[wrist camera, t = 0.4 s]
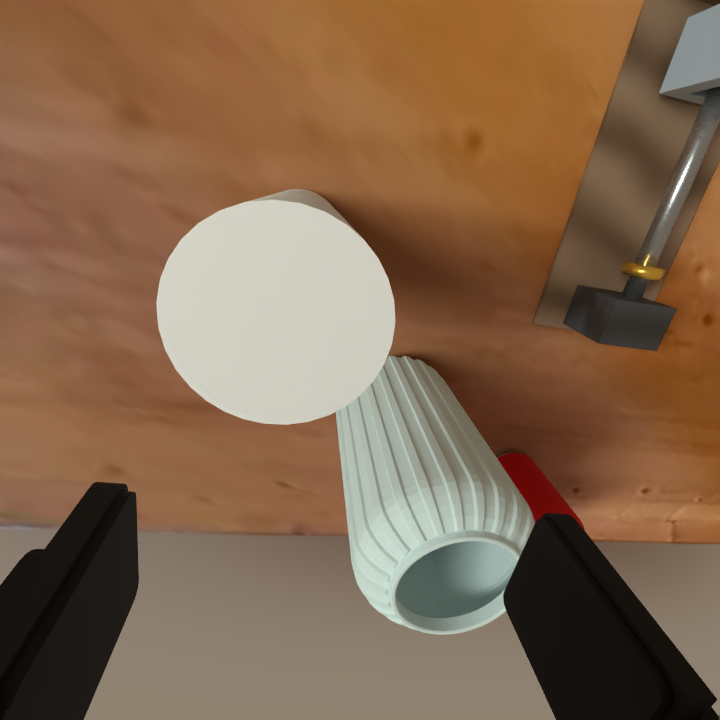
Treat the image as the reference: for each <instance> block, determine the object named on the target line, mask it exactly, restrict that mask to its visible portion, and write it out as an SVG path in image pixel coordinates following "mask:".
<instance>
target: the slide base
mask: <svg viewBox="0 0 720 720" xmlns="http://www.w3.org/2000/svg"><path fill="white" fill-rule="evenodd" d="M718 4H720V0H645V1H644V4H643V6H642V9H641V12H640V15H639V18H638V21H637V24H636V27H635V29H634V32H633V35H632V38H631V41H630V44H629V47H628V50H627V52H626V55H625V58H624V61H623V64H622V67H621V70H620V73H619V75H618V78H617V81H616V84H615V87H614V90H613V93H612V95H611V98H610V101H609V104H608V107H607V110H606V113H605V116H604V118H603V121H602V124H601V127H600V130H599V133H598V136H597V139H596V141H595V144H594V147H593V150H592V153H591V156H590V159H589V162H588V164H587V167H586V170H585V173H584V176H583V179H582V182H581V185H580V187H579V190H578V193H577V196H576V199H575V202H574V205H573V208H572V210H571V213H570V216H569V219H568V222H567V225H566V228H565V231H564V233H563V236H562V239H561V242H560V245H559V248H558V251H557V254H556V256H555V259H554V262H553V265H552V268H551V271H550V274H549V277H548V279H547V282H546V285H545V288H544V291H543V294H542V297H541V300H540V302H539V305H538V308H537V311H536V314H535V317H534V320H533V324H535V325H543V326H550V327H557V328H564V329H571V330H576V331H577V332H579V333H581V334H583V335H585V336H586V337H588V338H590V339H592V340H594V341H595V342H597V343H600V344H607V345H615V346H622V347H630V348H637V349H644V350H652V351H657V349H658V347H659V345H660V343H661V341H662V339H663V337H664V335H665V333H666V330H667V328H668V326H669V324H670V322H671V320H672V318H673V316H674V314H675V312H676V310H677V309H675V308H672V307H669V306H666V305H663V304H661V303H658V302H655V300H656V297H657V295H658V293H659V291H660V289H661V286H662V284H663V282H664V280H665V278H666V276H667V273H668V271H669V269H670V267H671V265H672V262H673V260H674V258H675V256H676V254H677V252H678V249H679V247H680V245H681V243H682V241H683V238H684V236H685V234H686V232H687V230H688V228H689V225H690V223H691V221H692V219H693V217H694V214H695V212H696V210H697V208H698V206H699V204H700V201H701V199H702V197H703V195H704V193H705V190H706V188H707V186H708V184H709V182H710V180H711V177H712V175H713V173H714V171H715V169H716V167H717V164H718V162H719V160H720V124H719V126H718V128H717V130H716V133H715V135H714V137H713V139H712V142H711V144H710V146H709V148H708V151H707V153H706V155H705V157H704V160H703V162H702V164H701V166H700V169H699V171H698V173H697V175H696V178H695V180H694V182H693V184H692V187H691V189H690V191H689V193H688V196H687V198H686V200H685V202H684V205H683V207H682V209H681V211H680V214H679V216H678V218H677V220H676V223H675V225H674V227H673V229H672V232H671V234H670V236H669V238H668V241H667V243H666V245H665V247H664V250H663V252H662V254H661V256H660V259H659V261H658V263H657V265H656V267H658V268H662V269H665V270H666V271H665V274H664V276H663V278H662V280H661V281H653V280H650V281H649V283H648V286H647V288H646V290H645V292H644V295H643V297H642V299H641V301H635V300H631V299H627V298H624V297H621V294H622V292H623V290H624V287H625V285H626V283H627V280H628V278H629V276H630V275H626V274H623V273H620V271H621V269H622V266H623V264H624V262H625V261H627V262H633V263H635V261H636V259H637V257H638V254H639V252H640V250H641V247H642V245H643V243H644V240H645V238H646V235H647V233H648V231H649V228H650V226H651V224H652V221H653V219H654V217H655V214H656V212H657V210H658V207H659V205H660V202H661V200H662V198H663V195H664V193H665V191H666V188H667V186H668V184H669V181H670V179H671V177H672V174H673V172H674V169H675V167H676V165H677V162H678V160H679V158H680V155H681V153H682V151H683V148H684V146H685V143H686V141H687V139H688V136H689V134H690V132H691V129H692V127H693V125H694V122H695V120H696V118H697V115H698V113H699V110H700V108H701V106H702V105H701V104H697V103H693V102H690V101H686V100H682V99H678V98H674V97H670V96H666V95H663V94H659V92H660V89H661V87H662V84H663V81H664V79H665V76H666V74H667V71H668V68H669V66H670V63H671V61H672V58H673V55H674V53H675V50H676V48H677V45H678V42H679V40H680V37H681V35H682V32H683V29H684V27H685V24H686V22H687V19H688V17H691V16H693V15H695V14H697V13H700V12H702V11H704V10H707V9H709V8H711V7H713V6H716V5H718Z"/></svg>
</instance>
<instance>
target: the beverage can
mask: <svg viewBox="0 0 720 720" xmlns="http://www.w3.org/2000/svg"><path fill="white" fill-rule="evenodd" d="M497 459H498V461H499V462H500V464H501V465H502V467H503V468H504V470H505V471H506V473H507V474H508V476H509V477H510V479H511V480H512V481H513V483H514V484H515V486H516V487H517V489H518V490H519V492H520V493H521V495H522V496H523V498H524V499H525V501H526V502H527V504H528V506H529V507H530V510H531V512H532V515H533V518H534V520H535V522H536V521H537V520H538V519H539V518H541V517H542V515H543V514H545V513H561V514H569V515H571V516H573V517H574V518H575V519H576V521H577V522H578V523H579V524H580V526H581V527H582V528H583V530H584V527H583V524H582V522H581V521H580V519H579V518H578V517H577V515H576V514H575V513H574V512H573V510H572V509H571V508H570V507H569V505H568V504H567V503H566V502H565V500H564V499H563V498H562V497H561V495H560V494H559V493H558V492H557V490H556V489H555V488H554V487H553V485H552V484H551V483H550V482H549V480H548V479H547V478H546V477H545V475H544V474H543V473H542V472H541V470H540V469H539V468H538V467H537V465H536V464H535V463H534V462H533V460H532V459H531V458H530V457H528V456H527V455H525V454H523V453H519V452H509V453H505V454H502V455H500V456H498V457H497ZM584 531H585V530H584Z"/></svg>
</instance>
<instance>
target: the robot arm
mask: <svg viewBox="0 0 720 720" xmlns="http://www.w3.org/2000/svg"><path fill="white" fill-rule="evenodd" d="M137 544H138V542H137V508H136V493H135V492H128V488H127V485H126V484H118V483H103V482H95V483H93V484H92V485H91V487H90V488H89V489H88V490H87V492H86V493H85V495H84V496H83V497H82V499H81V500H80V501H79V503H78V504H77V506H76V507H75V508H74V510H73V511H72V512H71V514H70V515H69V517H68V518H67V519H66V521H65V522H64V523H63V525H62V526H61V528H60V529H59V530H58V532H57V533H56V534H55V536H54V537H53V539H52V540H51V541H50V543H49V544H48V545H47V547H46V548H45V549H35V550H31V551H30V552H28V553H27V554H25V556H24V557H23V558H22V559H21V560H20V561H19V562H18V563H17V565H16V566H15V567H14V568H13V570H12V571H11V572H10V574H9V575H8V576H7V577H6V579H5V580H4V581H3V583H2V584H1V585H0V720H84V717H85V715H86V713H87V710H88V708H89V706H90V703H91V701H92V698H93V696H94V694H95V691H96V689H97V687H98V684H99V682H100V679H101V677H102V675H103V672H104V670H105V668H106V665H107V663H108V661H109V658H110V656H111V654H112V651H113V649H114V647H115V644H116V642H117V640H118V637H119V635H120V633H121V630H122V628H123V625H124V623H125V621H126V618H127V616H128V614H129V611H130V609H131V606H132V604H133V602H134V599H135V596H136V593H137V589H138V583H139V582H138V581H139V575H138V545H137ZM503 601H504V606H505V609H506V611H507V613H508V615H509V617H510V620H511V622H512V624H513V626H514V629H515V631H516V633H517V635H518V637H519V640H520V642H521V644H522V646H523V648H524V650H525V653H526V655H527V657H528V659H529V661H530V663H531V666H532V668H533V670H534V672H535V675H536V676H537V679H538V681H539V683H540V685H541V687H542V690H543V692H544V694H545V696H546V699H547V701H548V703H549V705H550V707H551V709H552V712H553V714H554V716H555V718H556V720H720V715H719V716H718V715H717V714H716V712H715V711H714V710H713V708H712V707H711V706H712V705H713V704H714V703H715V701H716V700H717V699H716V697H715V696H714V695H713V693H711V691H710V690H709V688H708V687H707V686H706V684H705V683H704V682H703V681H702V679H701V678H700V677H699V676H698V674H697V673H696V672H695V671H694V669H693V668H692V667H691V665H690V664H689V663H688V662H687V661H686V659H685V658H684V657H683V655H682V654H681V653H680V651H679V650H678V649H677V648H676V646H675V645H674V644H673V643H672V641H671V640H670V639H669V637H668V636H667V635H666V634H665V632H664V631H663V630H662V629H661V627H660V626H659V625H658V624H657V622H656V621H655V620H654V618H653V617H652V616H651V615H650V613H649V612H648V611H647V610H646V608H645V607H644V606H643V604H642V603H641V602H640V601H639V600H638V599H637V597H636V596H635V594H634V593H633V592H632V591H631V589H630V588H629V587H628V586H627V584H626V583H625V582H624V580H623V579H622V578H621V577H620V575H619V574H618V573H617V572H616V570H615V569H614V568H613V566H612V565H611V564H610V563H609V561H608V560H607V559H606V557H605V556H604V555H603V554H602V553H601V551H600V550H599V549H598V547H597V546H596V545H595V544H594V542H593V541H592V540H591V538H590V537H589V536H588V535H587V533H586V532H585V531H584V530H583V528H582V527H581V526H580V524H579V523H578V522H577V521H576V519H575V518H574V517H573V516H571V515H569V514H561V513H545V514H543V515H542V517H541V518H539V519H538V520H537V521H536V522H535V525H534V527H533V529H532V531H531V533H530V536H529V538H528V540H527V542H526V544H525V547H524V549H523V551H522V553H521V555H520V558H519V560H518V562H517V564H516V566H515V569H514V571H513V573H512V575H511V577H510V580H509V582H508V584H507V586H506V588H505V591H504V594H503Z"/></svg>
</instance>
